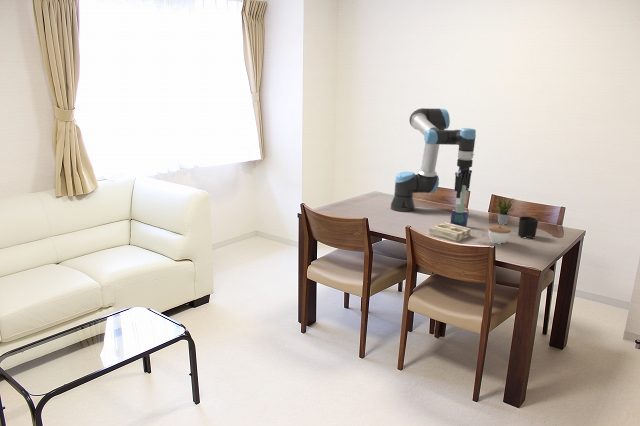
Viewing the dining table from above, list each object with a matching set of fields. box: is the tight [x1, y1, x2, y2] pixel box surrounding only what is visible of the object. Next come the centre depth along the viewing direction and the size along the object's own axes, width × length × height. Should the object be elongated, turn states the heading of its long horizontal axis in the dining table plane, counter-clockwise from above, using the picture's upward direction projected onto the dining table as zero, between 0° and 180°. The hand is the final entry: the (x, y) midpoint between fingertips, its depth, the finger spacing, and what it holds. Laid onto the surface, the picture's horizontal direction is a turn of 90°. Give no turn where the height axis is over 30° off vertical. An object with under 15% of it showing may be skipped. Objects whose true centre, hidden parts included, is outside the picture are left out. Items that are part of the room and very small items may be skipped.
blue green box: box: [450, 208, 469, 228], centre depth 293 cm, size 9×3×11 cm, turn 74°
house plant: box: [495, 196, 521, 225], centre depth 300 cm, size 14×14×16 cm
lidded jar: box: [488, 224, 512, 245], centre depth 266 cm, size 11×11×9 cm
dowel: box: [455, 185, 467, 213], centre depth 268 cm, size 4×4×14 cm
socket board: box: [428, 221, 472, 243], centre depth 276 cm, size 16×16×4 cm
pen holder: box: [517, 216, 539, 239], centre depth 277 cm, size 9×9×10 cm
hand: (460, 203), depth 268 cm, fingers closed on dowel, 4 cm apart
